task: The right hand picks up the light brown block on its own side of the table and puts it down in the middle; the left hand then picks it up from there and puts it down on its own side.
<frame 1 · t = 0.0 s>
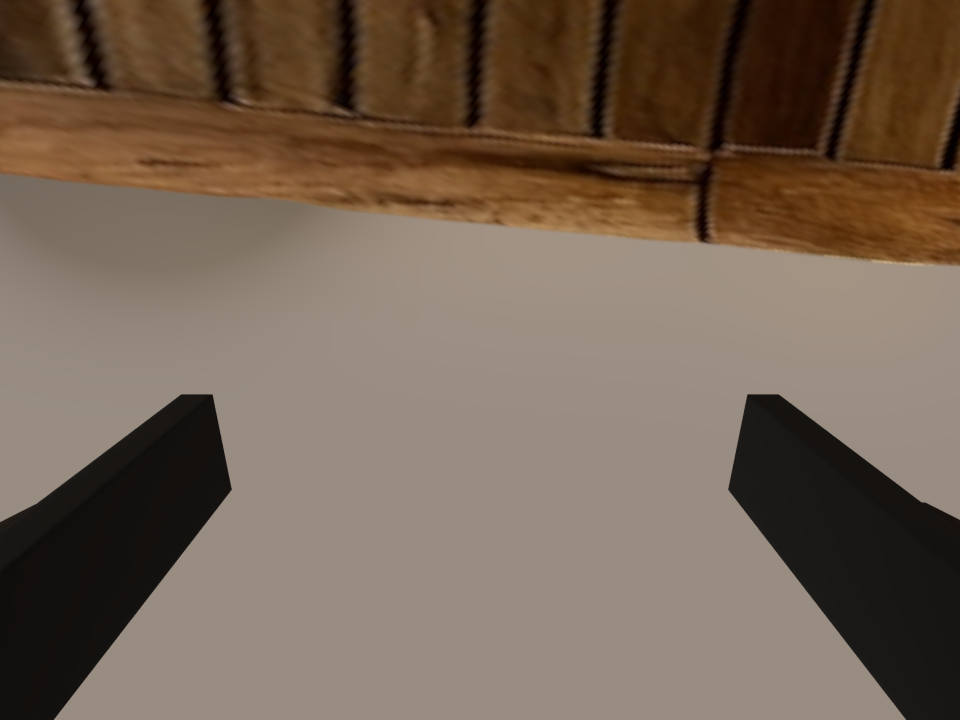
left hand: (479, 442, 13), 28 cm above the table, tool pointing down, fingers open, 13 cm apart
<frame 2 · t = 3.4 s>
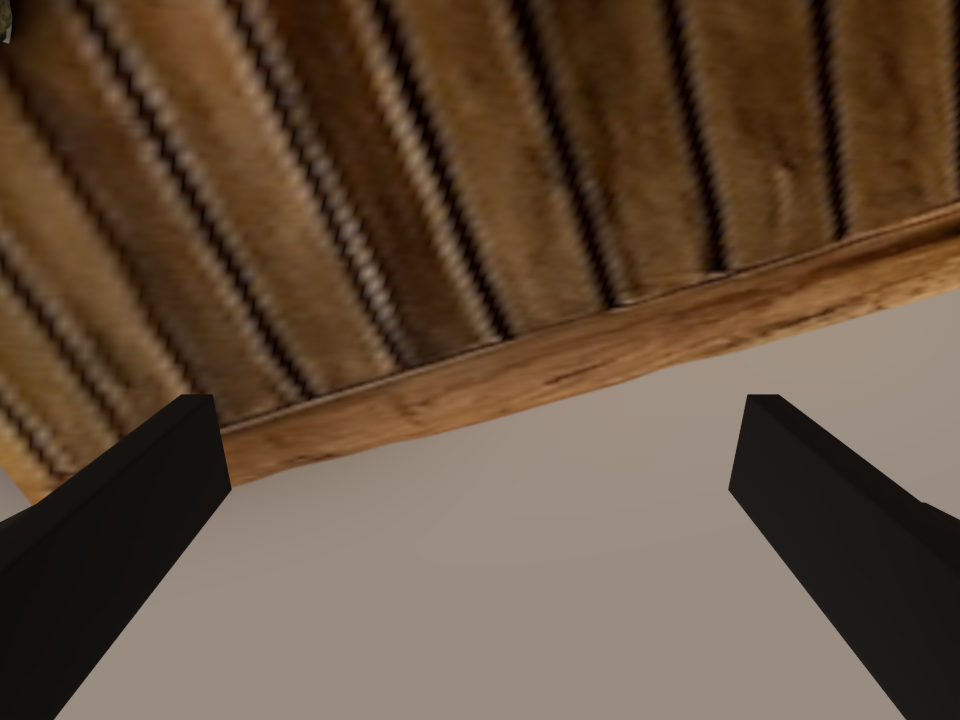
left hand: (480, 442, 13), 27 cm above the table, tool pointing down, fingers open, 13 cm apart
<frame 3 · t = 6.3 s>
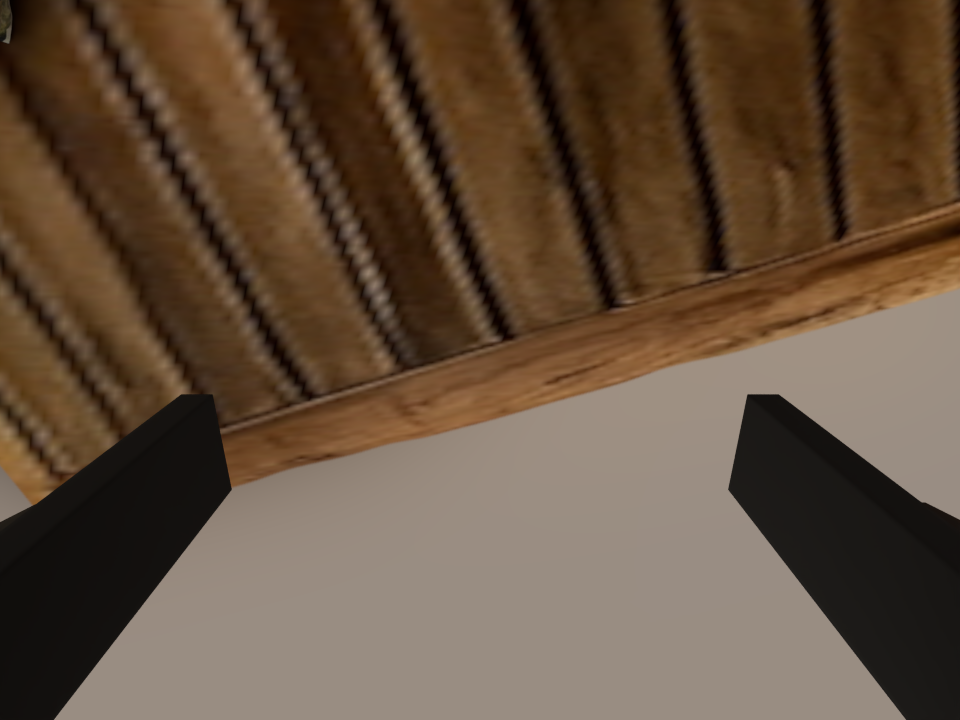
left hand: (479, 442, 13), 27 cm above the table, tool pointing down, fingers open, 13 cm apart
when the right hand's fingers open (2 cm above the table, at t = 9.6 s): light brown block drops 1 cm, on the table.
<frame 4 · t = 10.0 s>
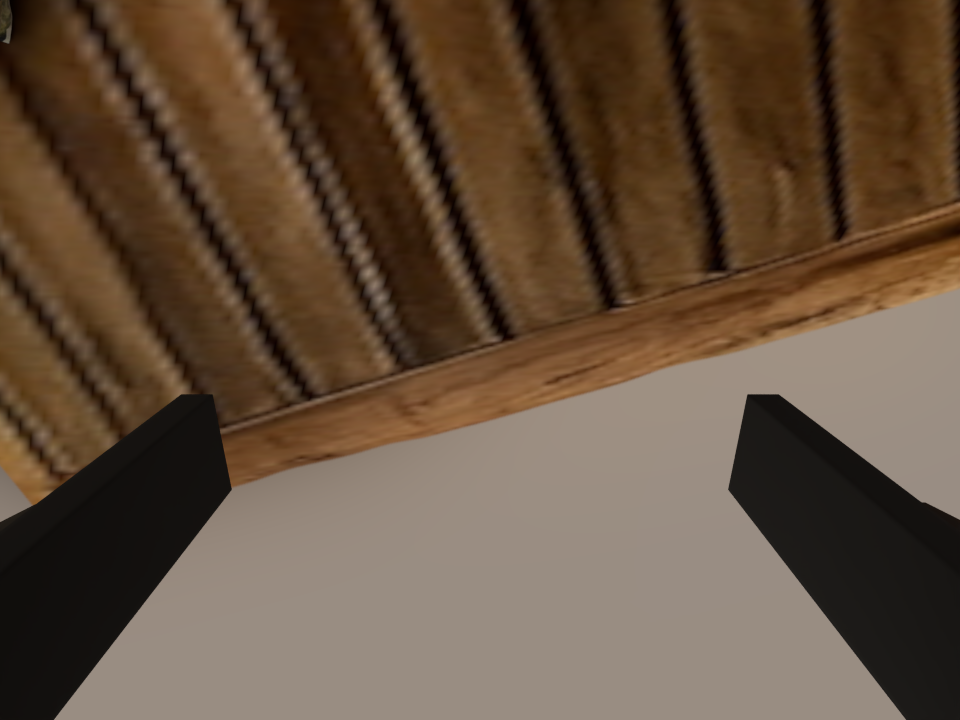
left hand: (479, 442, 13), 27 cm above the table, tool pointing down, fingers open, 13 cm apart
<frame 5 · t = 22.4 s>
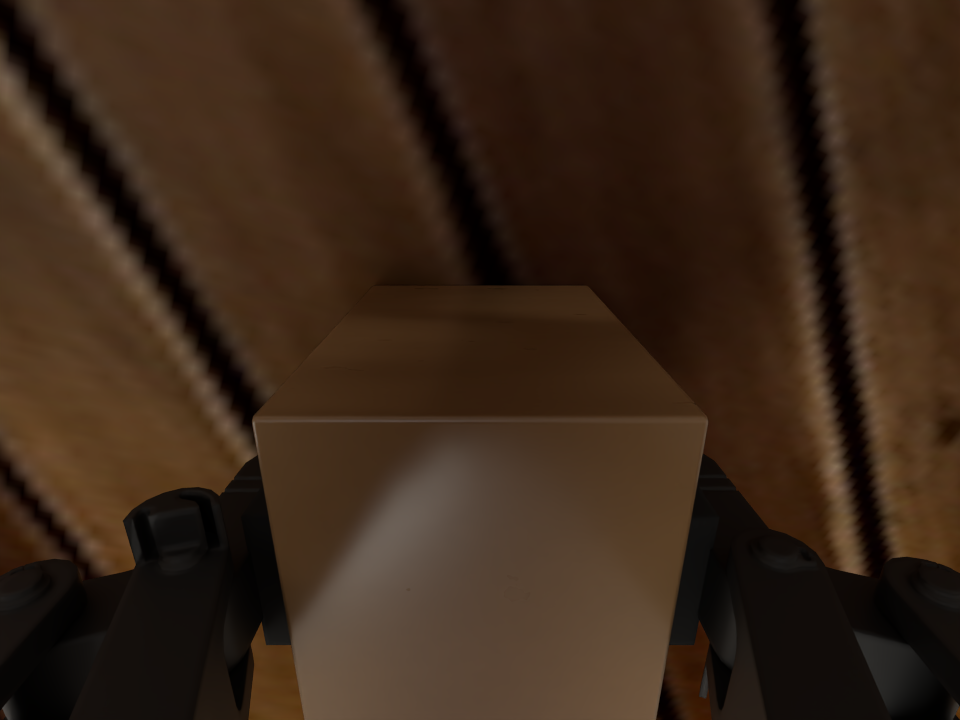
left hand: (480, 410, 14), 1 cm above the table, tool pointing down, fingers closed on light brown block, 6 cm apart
light brown block: (480, 398, 15), on the table, touching left hand
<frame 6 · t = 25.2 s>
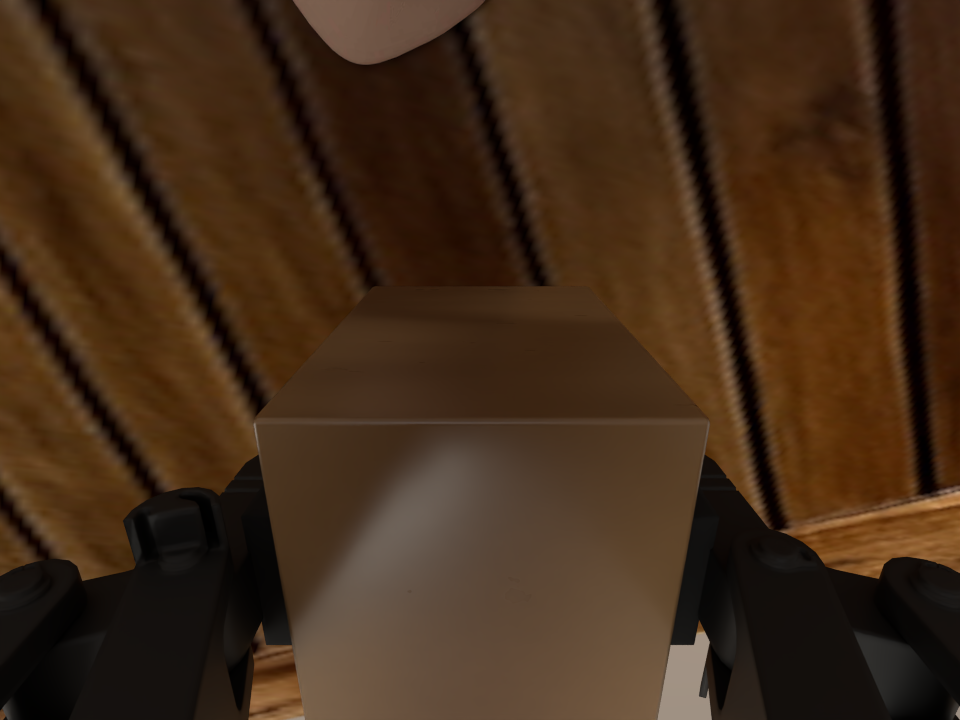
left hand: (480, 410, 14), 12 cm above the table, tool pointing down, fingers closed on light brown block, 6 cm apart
light brown block: (480, 398, 15), point 11 cm above the table, touching left hand
when the left hand's fingers open (2 cm above the table, at t = 27.8 s): light brown block drops 1 cm, on the table.
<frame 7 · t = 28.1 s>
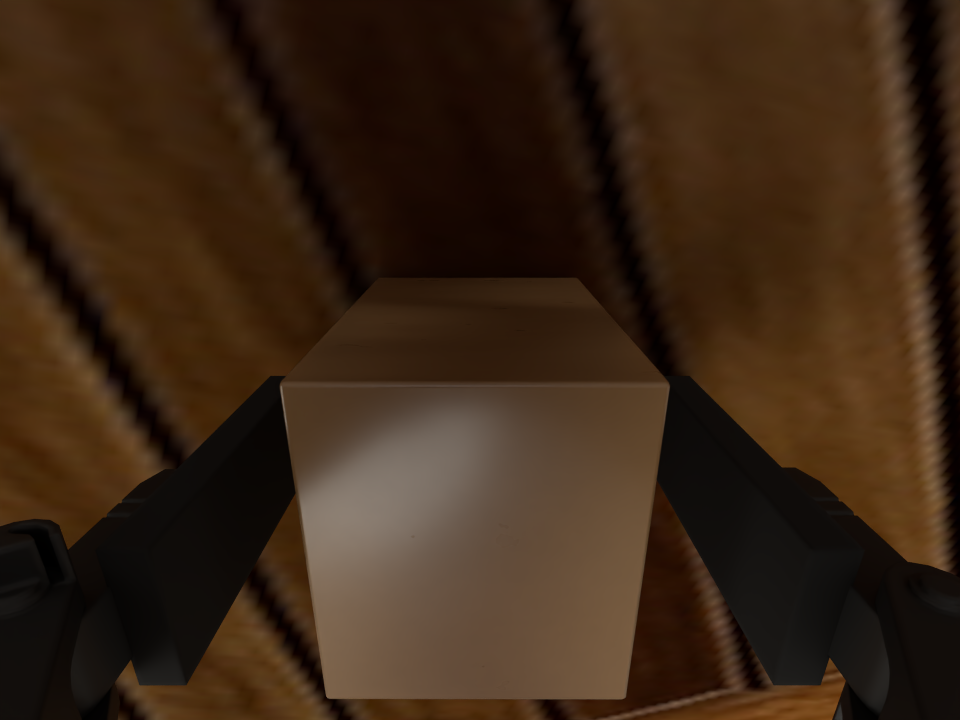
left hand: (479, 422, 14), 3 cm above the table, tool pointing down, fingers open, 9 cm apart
light brown block: (477, 383, 16), on the table
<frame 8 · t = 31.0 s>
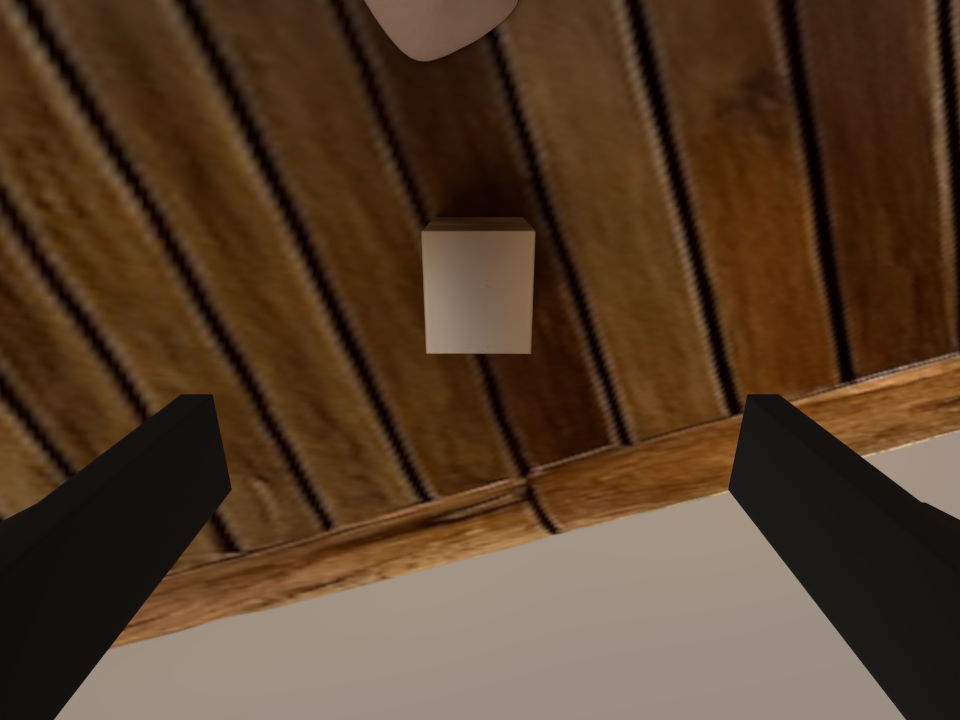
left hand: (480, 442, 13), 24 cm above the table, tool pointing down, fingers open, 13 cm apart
light brown block: (478, 268, 35), on the table
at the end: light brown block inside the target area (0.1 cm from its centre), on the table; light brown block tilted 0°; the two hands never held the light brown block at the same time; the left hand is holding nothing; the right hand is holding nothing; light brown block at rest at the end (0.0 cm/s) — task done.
